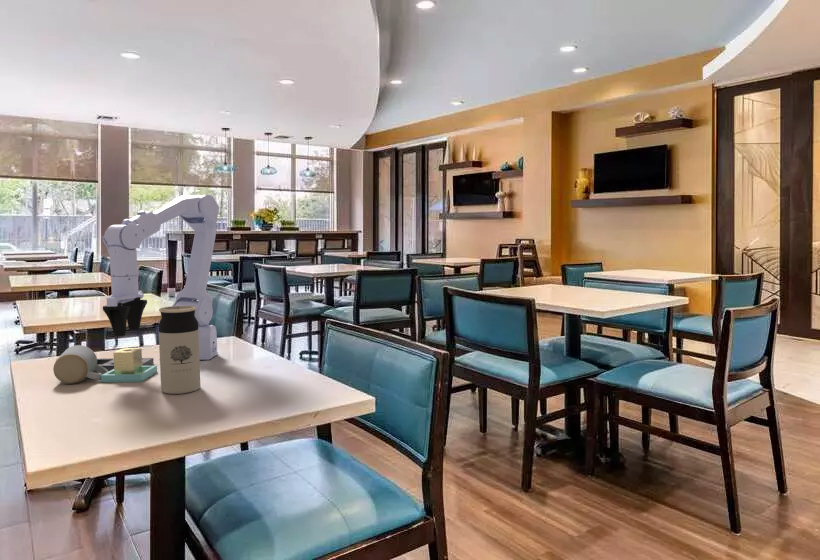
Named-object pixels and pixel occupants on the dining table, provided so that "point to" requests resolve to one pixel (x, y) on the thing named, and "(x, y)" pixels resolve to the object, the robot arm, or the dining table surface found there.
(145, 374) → the tray
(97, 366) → the ceramic mug
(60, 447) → the dining table surface
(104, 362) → the grey flat frame
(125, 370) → the block
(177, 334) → the travel mug
